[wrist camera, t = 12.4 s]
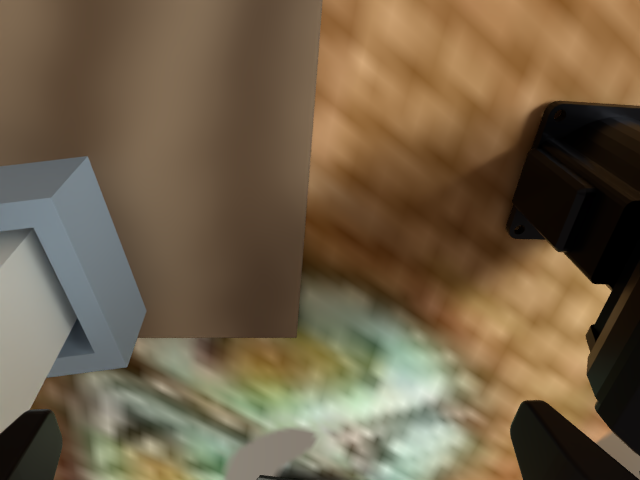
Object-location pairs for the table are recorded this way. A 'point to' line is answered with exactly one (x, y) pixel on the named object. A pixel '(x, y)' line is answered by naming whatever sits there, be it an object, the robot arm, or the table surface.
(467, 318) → the table surface
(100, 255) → the socket cup
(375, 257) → the table surface
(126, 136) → the walnut board
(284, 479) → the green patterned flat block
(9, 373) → the tower
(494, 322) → the table surface
